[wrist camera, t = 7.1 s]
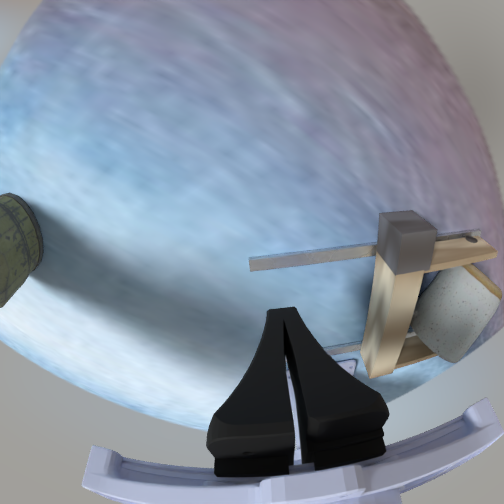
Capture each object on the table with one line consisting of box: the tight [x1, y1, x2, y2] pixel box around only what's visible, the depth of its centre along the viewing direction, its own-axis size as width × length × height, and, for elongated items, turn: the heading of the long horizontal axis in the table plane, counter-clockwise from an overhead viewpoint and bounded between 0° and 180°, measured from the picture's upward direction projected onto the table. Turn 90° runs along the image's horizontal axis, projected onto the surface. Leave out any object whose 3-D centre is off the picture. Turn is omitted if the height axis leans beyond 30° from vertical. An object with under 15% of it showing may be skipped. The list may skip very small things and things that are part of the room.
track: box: [249, 229, 481, 362], centre depth 23 cm, size 13×23×1 cm, turn 97°
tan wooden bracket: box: [360, 210, 498, 379], centre depth 20 cm, size 15×12×4 cm
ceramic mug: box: [410, 263, 502, 363], centre depth 19 cm, size 11×8×8 cm
